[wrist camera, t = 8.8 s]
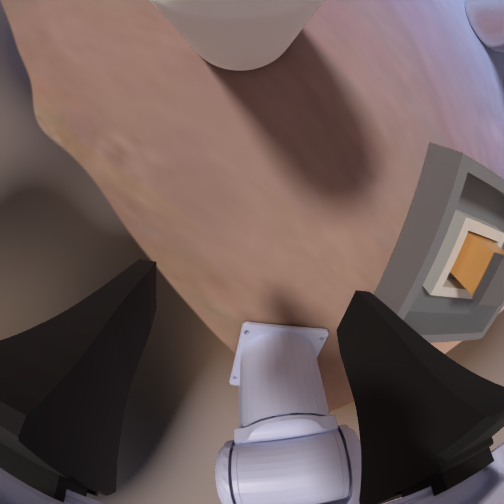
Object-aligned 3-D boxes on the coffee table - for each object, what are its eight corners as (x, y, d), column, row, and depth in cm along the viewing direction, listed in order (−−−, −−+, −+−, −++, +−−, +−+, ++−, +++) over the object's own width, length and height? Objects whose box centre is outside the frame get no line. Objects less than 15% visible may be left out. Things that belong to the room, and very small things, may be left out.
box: (465, 317, 26) (481, 338, 22) (364, 313, 24) (379, 343, 20) (521, 197, 18) (545, 212, 15) (429, 142, 17) (462, 153, 13)
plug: (467, 270, 22) (500, 306, 16) (442, 265, 21) (478, 305, 16) (483, 233, 20) (522, 264, 14) (459, 224, 19) (502, 258, 14)
